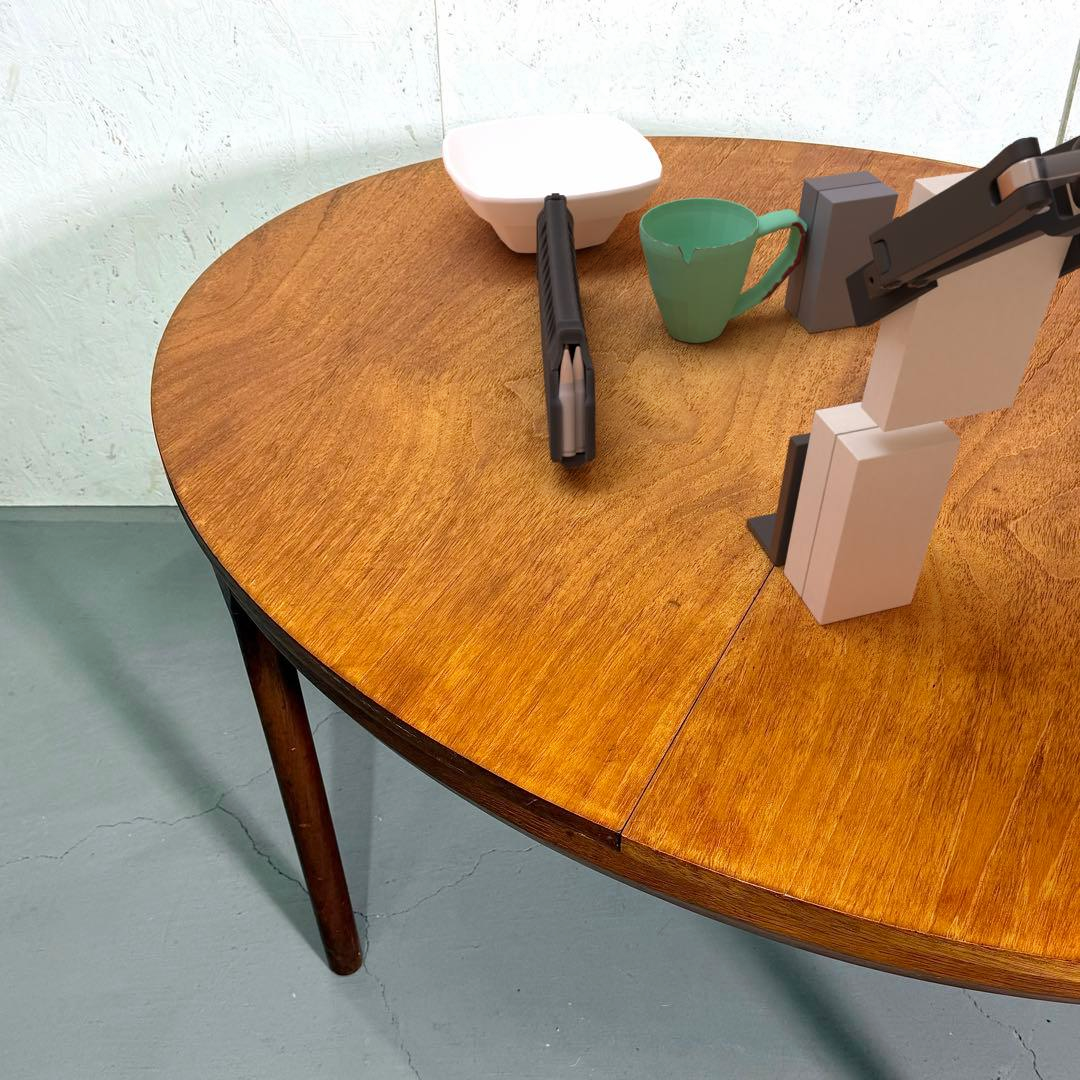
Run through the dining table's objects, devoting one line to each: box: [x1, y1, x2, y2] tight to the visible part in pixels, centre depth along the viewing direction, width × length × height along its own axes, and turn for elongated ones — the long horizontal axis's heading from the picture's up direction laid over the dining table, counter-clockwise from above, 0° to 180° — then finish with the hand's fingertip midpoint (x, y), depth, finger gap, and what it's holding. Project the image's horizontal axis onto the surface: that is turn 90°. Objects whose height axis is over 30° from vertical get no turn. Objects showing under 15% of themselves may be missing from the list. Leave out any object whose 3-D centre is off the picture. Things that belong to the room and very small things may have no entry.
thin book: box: [861, 170, 1080, 432], centre depth 54 cm, size 8×2×13 cm, turn 107°
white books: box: [745, 401, 962, 626], centre depth 67 cm, size 7×10×13 cm
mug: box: [638, 197, 807, 344], centre depth 91 cm, size 15×10×10 cm
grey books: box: [783, 170, 899, 334], centre depth 92 cm, size 6×5×12 cm
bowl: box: [441, 112, 664, 254], centre depth 106 cm, size 21×21×9 cm
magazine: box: [535, 193, 597, 469], centre depth 86 cm, size 17×3×30 cm
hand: (929, 290), depth 57 cm, fingers closed on thin book, 8 cm apart
